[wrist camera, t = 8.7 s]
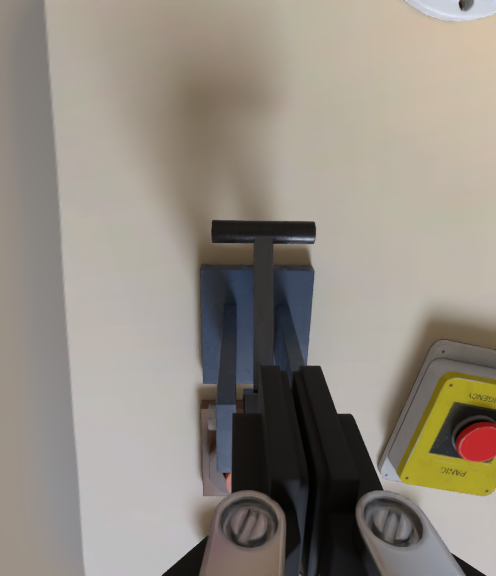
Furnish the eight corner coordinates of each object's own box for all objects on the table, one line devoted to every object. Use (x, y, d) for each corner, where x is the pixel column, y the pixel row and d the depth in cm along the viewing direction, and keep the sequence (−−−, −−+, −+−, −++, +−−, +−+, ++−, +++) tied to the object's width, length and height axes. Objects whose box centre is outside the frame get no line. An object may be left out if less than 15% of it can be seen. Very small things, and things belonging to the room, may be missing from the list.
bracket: (201, 264, 31) (177, 354, 19) (311, 265, 32) (359, 355, 19) (204, 375, 35) (185, 512, 23) (303, 376, 35) (338, 511, 23)
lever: (213, 226, 25) (211, 214, 23) (310, 228, 25) (317, 215, 23) (209, 438, 23) (206, 448, 21) (313, 438, 24) (322, 448, 21)
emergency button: (574, 388, 31) (488, 528, 36) (535, 358, 35) (463, 487, 40) (461, 366, 30) (390, 512, 35) (435, 337, 34) (374, 472, 39)
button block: (201, 399, 36) (198, 423, 33) (292, 400, 36) (297, 423, 33) (204, 486, 40) (201, 513, 37) (286, 485, 40) (290, 512, 37)
